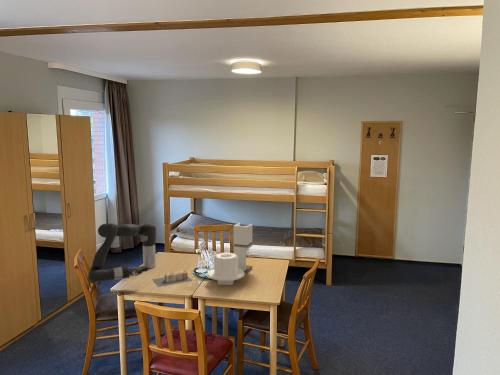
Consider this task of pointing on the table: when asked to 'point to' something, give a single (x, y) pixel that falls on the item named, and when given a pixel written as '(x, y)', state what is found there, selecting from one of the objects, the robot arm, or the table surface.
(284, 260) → the table surface
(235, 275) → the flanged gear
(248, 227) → the grey notched tower
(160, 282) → the rubber mat
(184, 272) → the birch block
